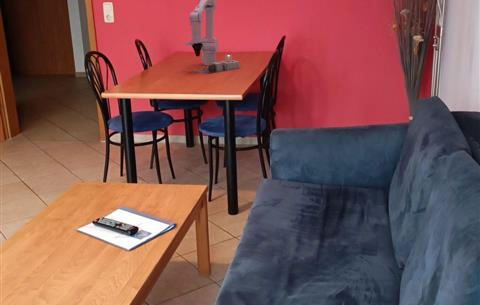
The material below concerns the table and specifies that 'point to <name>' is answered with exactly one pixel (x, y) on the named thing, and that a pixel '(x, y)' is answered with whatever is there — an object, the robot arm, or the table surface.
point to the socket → (230, 65)
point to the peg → (228, 58)
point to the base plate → (206, 71)
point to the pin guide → (218, 66)
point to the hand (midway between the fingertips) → (197, 56)
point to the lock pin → (213, 67)
